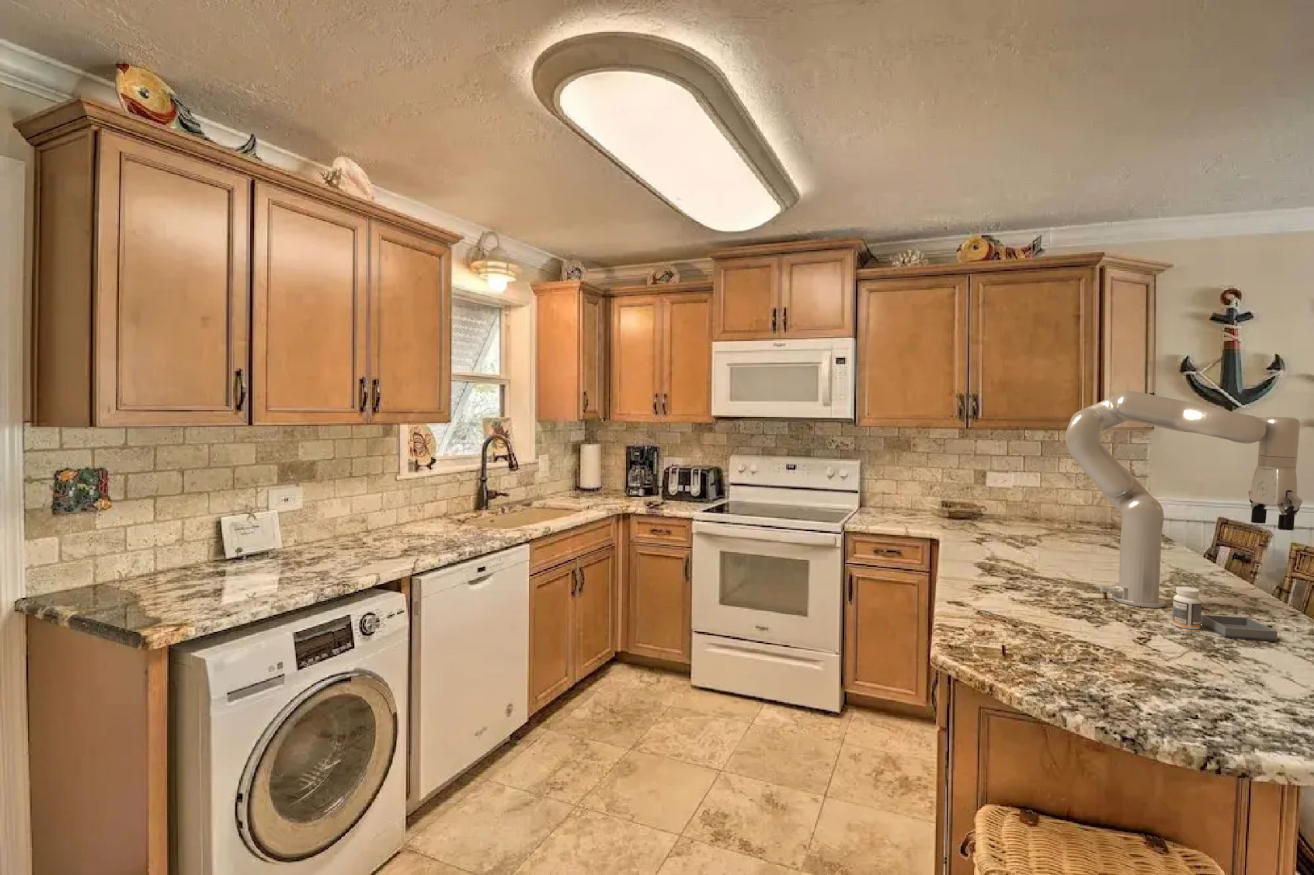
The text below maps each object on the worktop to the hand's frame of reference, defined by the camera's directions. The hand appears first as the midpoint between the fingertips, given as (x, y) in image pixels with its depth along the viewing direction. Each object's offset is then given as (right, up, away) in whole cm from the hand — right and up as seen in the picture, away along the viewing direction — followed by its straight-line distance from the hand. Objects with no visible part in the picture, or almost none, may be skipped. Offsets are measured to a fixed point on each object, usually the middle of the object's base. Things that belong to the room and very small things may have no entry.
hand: (1271, 526), depth 173 cm
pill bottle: (-27, -26, -5) cm, 38 cm away
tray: (-18, -26, -10) cm, 33 cm away
